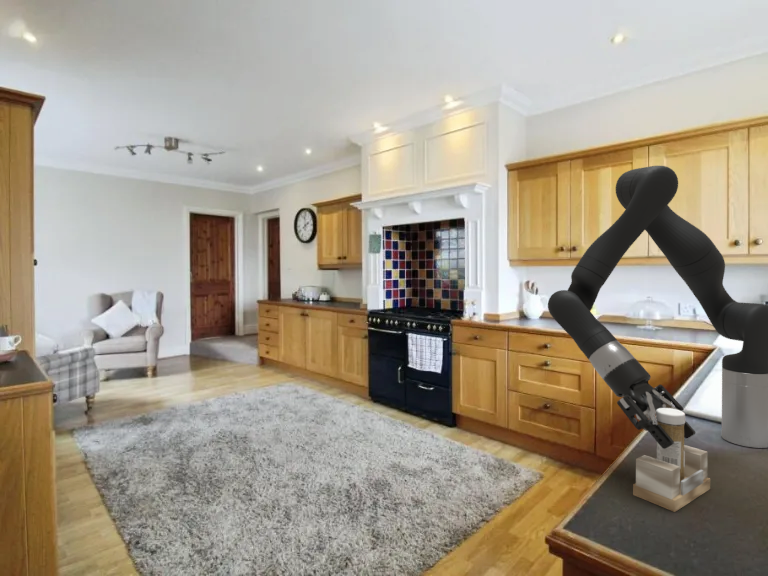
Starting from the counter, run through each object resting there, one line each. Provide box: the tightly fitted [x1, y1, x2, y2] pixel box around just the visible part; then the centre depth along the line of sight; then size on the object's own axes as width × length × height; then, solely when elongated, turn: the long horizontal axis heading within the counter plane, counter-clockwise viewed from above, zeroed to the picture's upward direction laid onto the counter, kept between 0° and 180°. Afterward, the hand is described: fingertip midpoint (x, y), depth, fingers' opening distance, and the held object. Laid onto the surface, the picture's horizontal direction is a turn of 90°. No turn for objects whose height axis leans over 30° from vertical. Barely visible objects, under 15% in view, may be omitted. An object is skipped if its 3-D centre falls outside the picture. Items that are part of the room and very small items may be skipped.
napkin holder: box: [632, 444, 711, 513], centre depth 81 cm, size 14×7×7 cm, turn 122°
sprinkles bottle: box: [655, 408, 686, 486], centre depth 81 cm, size 5×5×14 cm
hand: (680, 441), depth 79 cm, fingers open, 8 cm apart
